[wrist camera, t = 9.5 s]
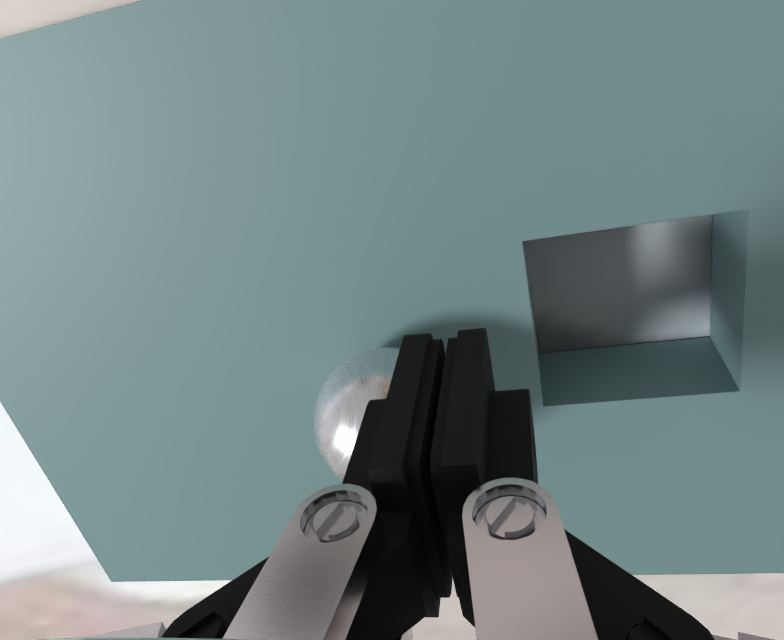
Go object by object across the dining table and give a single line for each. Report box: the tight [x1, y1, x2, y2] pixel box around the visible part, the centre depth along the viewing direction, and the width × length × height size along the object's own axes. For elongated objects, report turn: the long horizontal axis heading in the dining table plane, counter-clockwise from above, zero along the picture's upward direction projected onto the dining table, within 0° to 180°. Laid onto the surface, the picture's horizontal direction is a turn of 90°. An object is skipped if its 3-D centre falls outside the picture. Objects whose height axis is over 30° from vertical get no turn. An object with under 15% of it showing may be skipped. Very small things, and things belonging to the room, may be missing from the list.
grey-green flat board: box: [0, 0, 784, 582], centre depth 17 cm, size 24×17×2 cm
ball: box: [313, 347, 400, 481], centre depth 15 cm, size 3×3×3 cm
